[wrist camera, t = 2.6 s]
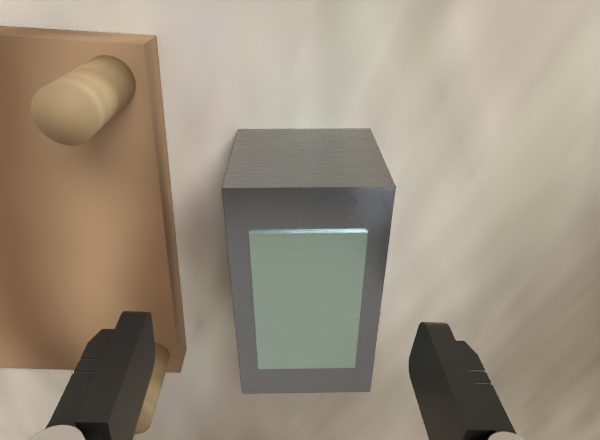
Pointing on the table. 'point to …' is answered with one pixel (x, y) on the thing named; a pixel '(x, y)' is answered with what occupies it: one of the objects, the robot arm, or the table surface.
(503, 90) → the table surface
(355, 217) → the grey rectangular block
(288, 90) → the table surface
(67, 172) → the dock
